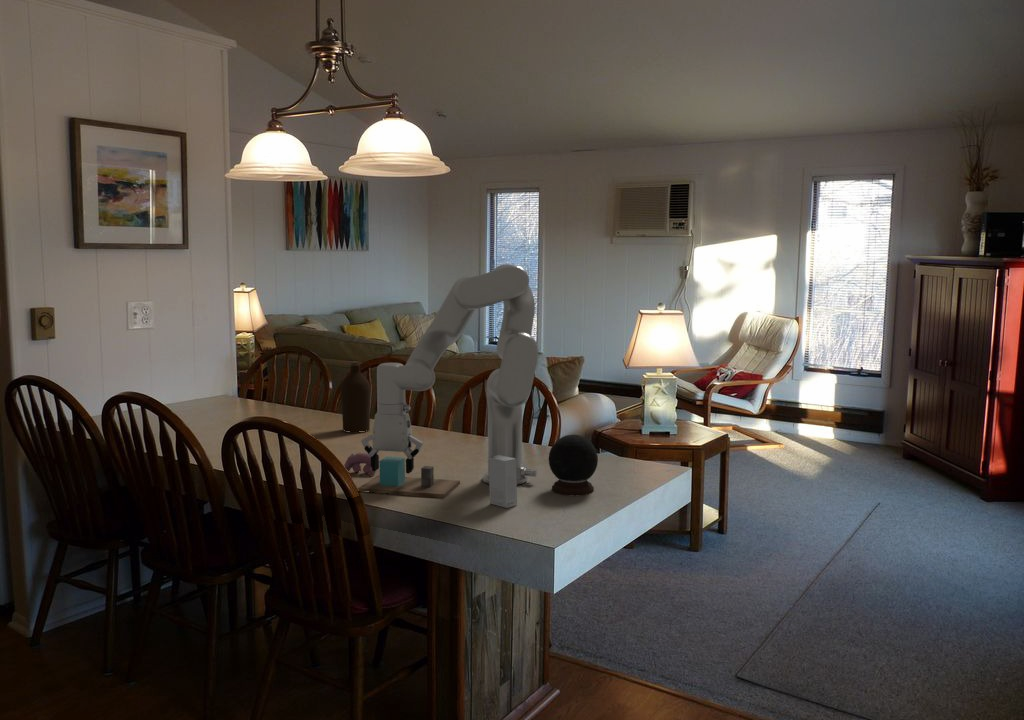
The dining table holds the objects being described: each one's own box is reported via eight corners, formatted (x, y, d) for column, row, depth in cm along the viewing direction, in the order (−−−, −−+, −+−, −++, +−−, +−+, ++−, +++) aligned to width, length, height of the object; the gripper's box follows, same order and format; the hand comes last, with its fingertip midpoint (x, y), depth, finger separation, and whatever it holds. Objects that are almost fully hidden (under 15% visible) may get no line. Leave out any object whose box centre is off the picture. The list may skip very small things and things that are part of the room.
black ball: (585, 499, 217) (586, 442, 215) (539, 492, 223) (540, 436, 222) (605, 487, 228) (606, 433, 227) (561, 481, 235) (561, 428, 233)
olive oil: (353, 434, 295) (352, 364, 292) (335, 430, 302) (333, 361, 299) (377, 430, 303) (376, 361, 300) (358, 426, 310) (357, 359, 307)
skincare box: (517, 505, 211) (518, 458, 210) (505, 509, 208) (505, 461, 207) (500, 500, 216) (500, 454, 214) (487, 504, 212) (488, 457, 211)
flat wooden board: (459, 484, 231) (459, 462, 230) (444, 498, 217) (444, 475, 217) (378, 478, 236) (377, 457, 236) (358, 491, 223) (357, 469, 222)
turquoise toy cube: (404, 481, 230) (404, 457, 229) (398, 486, 225) (397, 462, 224) (387, 480, 231) (386, 456, 230) (379, 485, 226) (379, 461, 225)
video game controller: (378, 479, 242) (382, 455, 244) (372, 475, 238) (376, 451, 240) (346, 477, 244) (351, 453, 247) (340, 473, 240) (344, 449, 242)
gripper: (426, 408, 227) (427, 469, 229) (366, 405, 231) (367, 466, 233) (417, 412, 220) (418, 476, 222) (355, 409, 224) (356, 472, 226)
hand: (392, 471), depth 227 cm, fingers open, 9 cm apart
